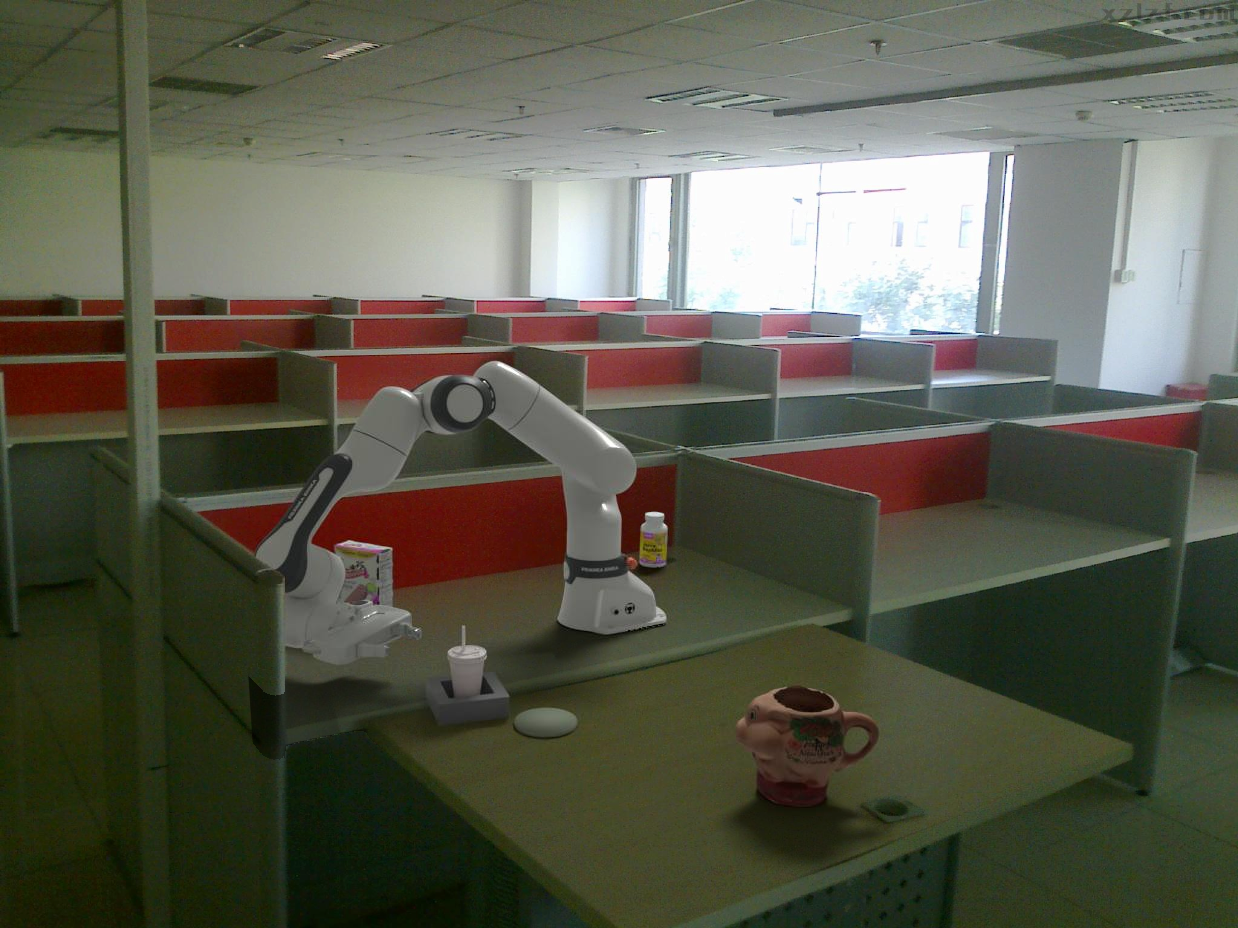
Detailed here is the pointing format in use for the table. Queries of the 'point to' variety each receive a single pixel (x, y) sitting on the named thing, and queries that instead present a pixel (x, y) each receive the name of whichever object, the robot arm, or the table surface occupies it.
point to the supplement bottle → (653, 541)
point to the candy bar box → (366, 572)
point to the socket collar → (467, 701)
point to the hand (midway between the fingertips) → (403, 642)
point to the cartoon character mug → (799, 742)
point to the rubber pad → (545, 722)
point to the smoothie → (466, 668)
